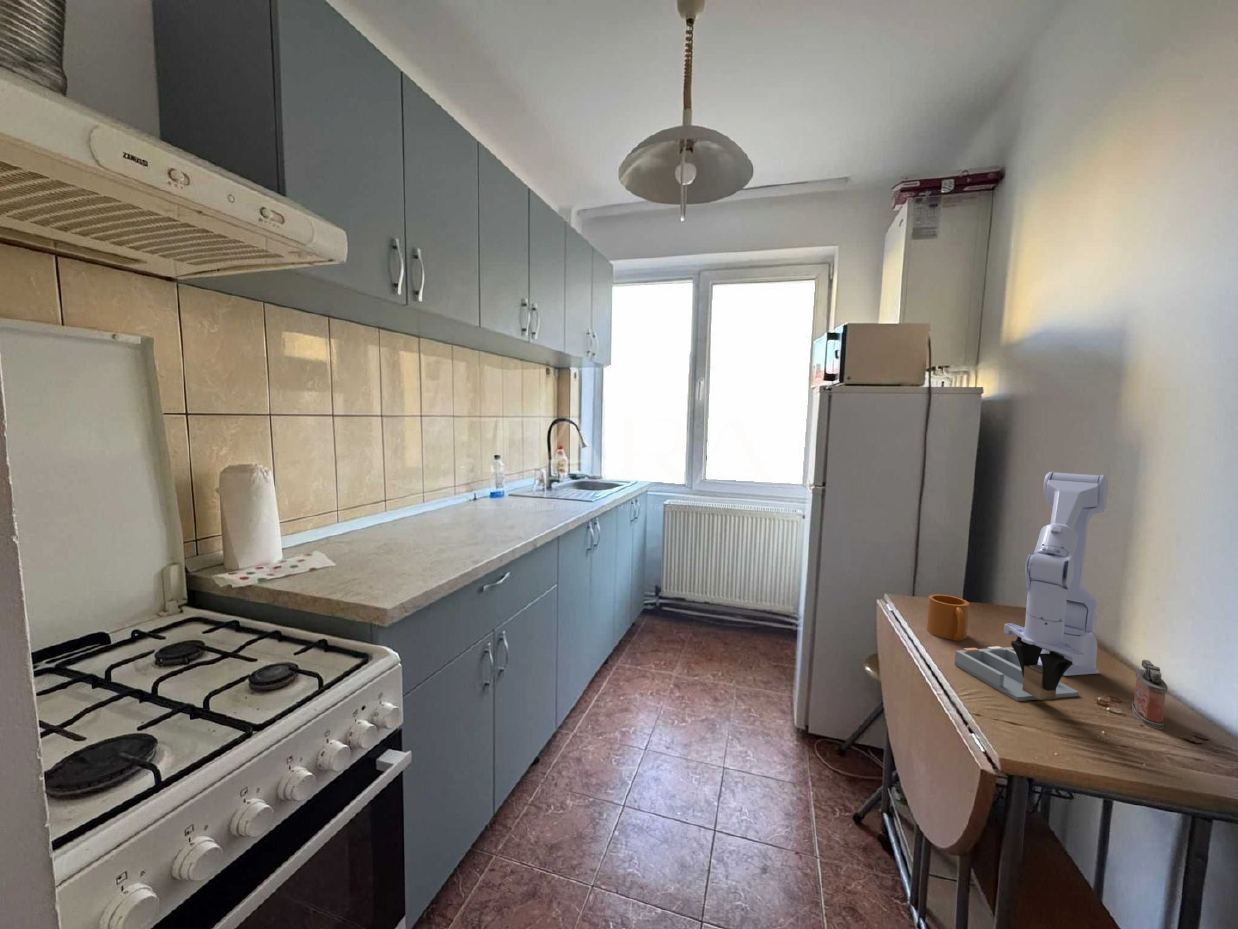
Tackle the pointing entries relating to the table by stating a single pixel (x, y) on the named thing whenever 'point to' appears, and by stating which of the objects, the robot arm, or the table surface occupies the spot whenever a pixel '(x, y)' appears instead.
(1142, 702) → the lighter
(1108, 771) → the table surface
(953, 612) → the mug
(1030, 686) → the plug
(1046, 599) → the robot arm
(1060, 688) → the socket board
